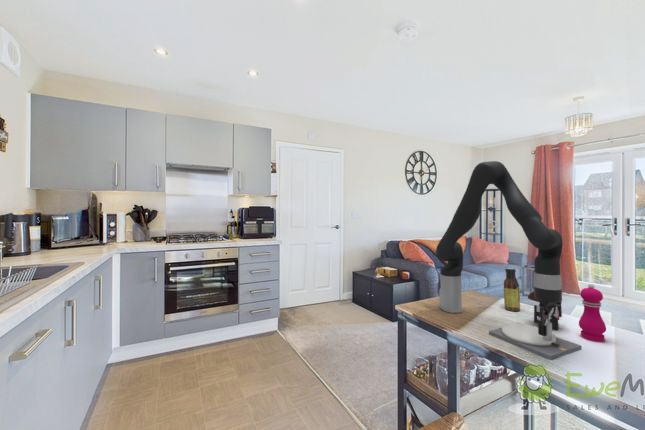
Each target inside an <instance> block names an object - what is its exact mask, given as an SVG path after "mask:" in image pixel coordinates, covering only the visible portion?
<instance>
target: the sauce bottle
mask: <svg viewBox="0 0 645 430" xmlns="http://www.w3.org/2000/svg"><path fill="white" fill-rule="evenodd" d="M504 271H505V279H504V281H503V298H504V299H503V300H504V301H503V302H504V308H505V310H507V311H510V312H519V311H520V309H521V302H520V301H521V297H520V295H521V294H520V284H519V282H518V280H517V278H516V268H514V267H506V268H505V269H504Z"/></svg>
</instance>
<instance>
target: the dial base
mask: <svg viewBox="0 0 645 430" xmlns="http://www.w3.org/2000/svg"><path fill="white" fill-rule="evenodd" d="M488 334H489V335H490V336H493V337H494V338H498V339H500V340H502V341H504V342H507V343H509V344H512V345H513V346H517V347H519V348H521V349H524V350H526V351H528V352H529V353H530V352H531V353H532V354H535V355H538V356H541V357H542V358H544V359H547V360H549V361H552V360H556V359H558V358H561V357H563V356H566V355H569V354H572V353H575V352H577V351H580V350H582V345H581V344H578V343H575V342H572V341H570V340H566V339H563V338H560V337H557V336H555V337H556V343H557V344H559V346H558V347H557V346H554V345H550V346H537V345H530V344H525V343H521V342H518V341H515V340H513V339H510V338H508V337H507V336H505V335H504V334H503V333H502V327H500V328H495V329H492V330H488Z"/></svg>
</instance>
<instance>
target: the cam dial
mask: <svg viewBox="0 0 645 430" xmlns="http://www.w3.org/2000/svg"><path fill="white" fill-rule="evenodd" d="M501 328H502V333H503V334H504V335H505V336H507V337H508V338H510V339H513V340H515V341H518V342H521V343H525V344H530V345H537V346H550V345H554V346H557V347H558V346H559V344H557V343H556V337H557V336H556V335H555V334H553V330H552V323H551V322H547V336H542V335H539V334H538V326H534V325H529V324H524V323H523V324H521V323H507V324H504V325H502V326H501Z"/></svg>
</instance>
